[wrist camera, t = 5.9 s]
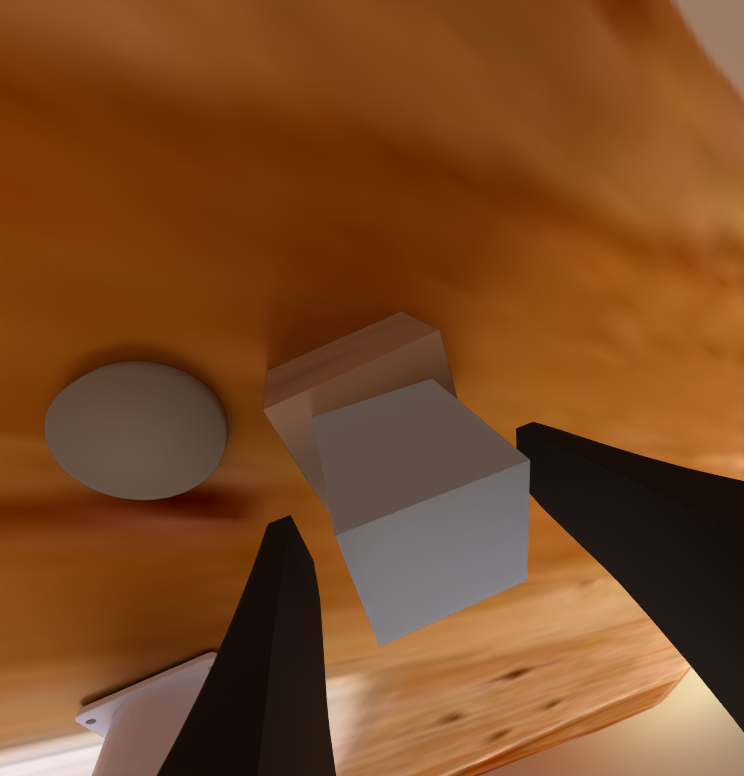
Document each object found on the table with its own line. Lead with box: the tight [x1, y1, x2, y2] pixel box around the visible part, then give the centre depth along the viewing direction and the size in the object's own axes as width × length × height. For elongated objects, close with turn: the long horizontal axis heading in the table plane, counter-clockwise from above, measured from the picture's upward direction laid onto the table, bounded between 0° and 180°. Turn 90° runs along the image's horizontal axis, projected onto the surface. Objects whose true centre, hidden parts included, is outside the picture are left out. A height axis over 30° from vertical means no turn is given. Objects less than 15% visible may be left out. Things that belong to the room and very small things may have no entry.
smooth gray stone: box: [44, 361, 228, 500], centre depth 13 cm, size 6×6×1 cm
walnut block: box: [263, 311, 458, 517], centre depth 14 cm, size 6×6×4 cm
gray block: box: [312, 379, 530, 647], centre depth 10 cm, size 4×4×5 cm
